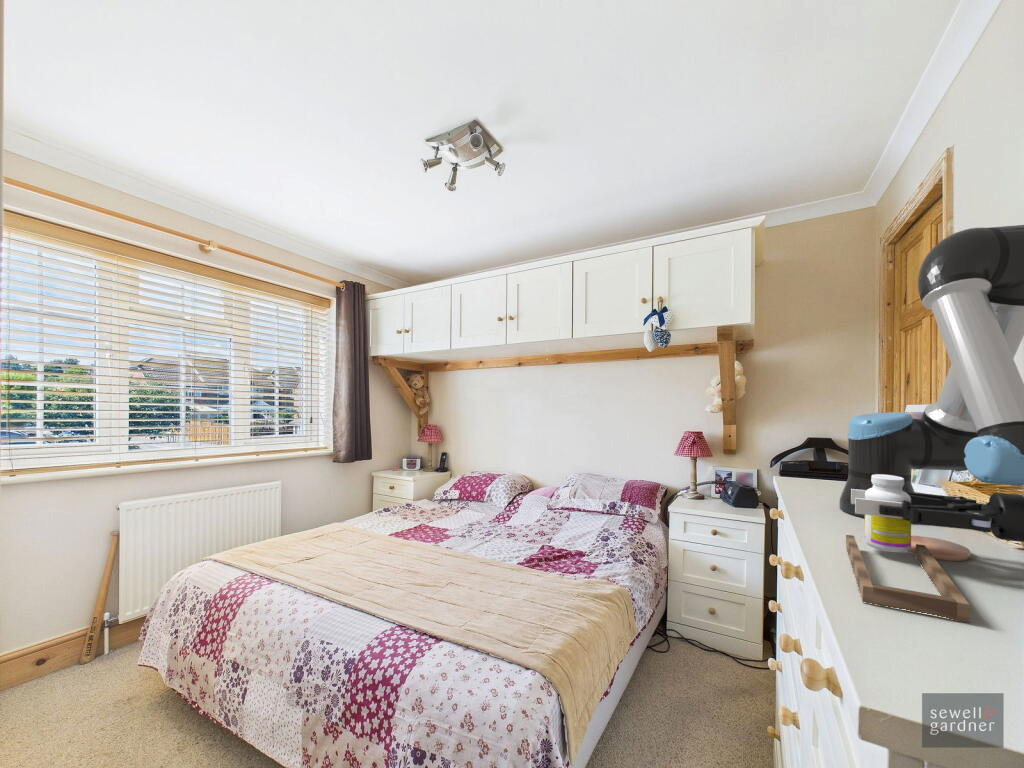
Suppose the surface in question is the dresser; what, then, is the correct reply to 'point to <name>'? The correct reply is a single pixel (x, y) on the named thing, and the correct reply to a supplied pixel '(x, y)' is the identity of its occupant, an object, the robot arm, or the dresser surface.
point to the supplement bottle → (885, 529)
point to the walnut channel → (944, 605)
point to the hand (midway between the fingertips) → (853, 500)
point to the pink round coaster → (941, 548)
